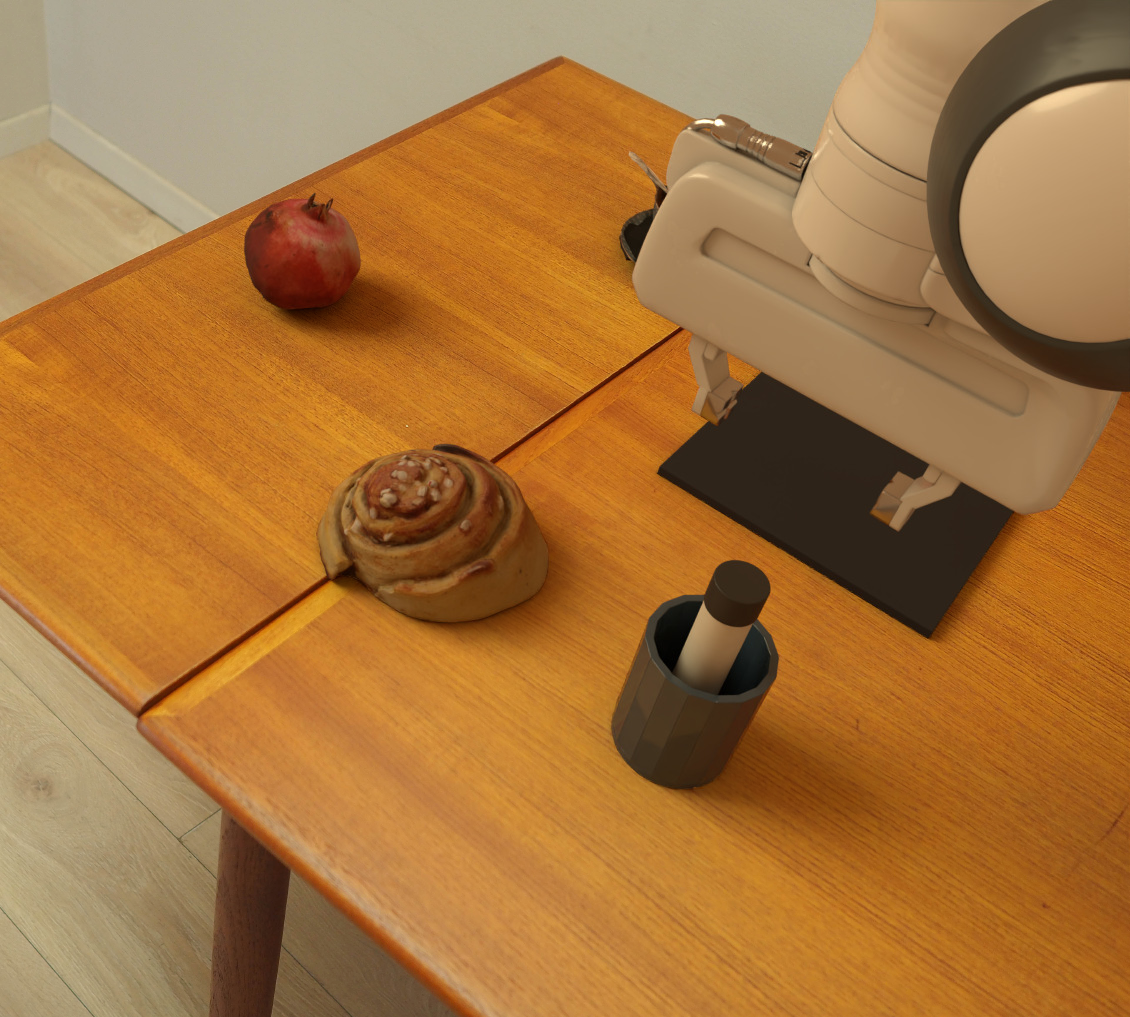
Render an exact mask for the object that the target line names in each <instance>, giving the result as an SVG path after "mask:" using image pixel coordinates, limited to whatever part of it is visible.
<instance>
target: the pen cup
mask: <svg viewBox="0 0 1130 1017" xmlns="http://www.w3.org/2000/svg"><path fill="white" fill-rule="evenodd" d="M703 601H704V594H681V595H679V596H677V597H674V598H672V599H671V598H670V599H669V600H666V601H664V602H662V603H661V604H660V605H659V606H658V607H657V608H656V609H655V610H654V611H653V613H652V614H651V615H649V617H648V620H647V622H646V625H645V628H644V630H643V632H642V635H641V638H640V640H639V643H638V645H637V648H636V651H635V653H634V656H633V659H632V661H631V664H630V666H629V668H628V672H627V674H626V677H625V679H624V682H623V684H622V687H621V689H620V692H619V695H618V697H617V699H616V703H615V706H614V709H613V713H612V715H611V723H610V724H611V736H612V740H613V743H614V745H615V747H616V750H617V751H618V753H619V755H620V756H621V758H622V759H623V760H624V762H625V763H626V764H627V765H628V766H629V767H630V768H631V769H632V770H633V771H634V772H635V773H637V774H638V775H640V776H641V777H642V778H644V779H645V780H647V781H650V782H652V783H654V784H657V785H659V786H662V787H666V788H670V789H675V790H676V789H677V790H688V789H696V788H701V787H703V786H706V785H708V784H710V783H712V782H713V781H715V780H716V779H718V778H719V777H720V776H721V775H722V774H723V772H725V770H726V768H727V766H728V765H729V763H730V762H731V761H732V760H733V758H734V756H735V754H736V752H737V750H738V749H739V748H740V747H739V746H740V745H741V743H742V742H743V740H744V738H745V736H746V735H747V733H748V731H749V729H750V727H751V726H752V723H753V721H754V720H755V718H756V716H757V714H758V713H759V711H760V709H761V707H762V705H763V703H764V702H765V699H766V698H767V697H768V694H769V692H770V691H771V689H772V686H773V685H774V683H775V681H776V679H777V677H778V670H779V661H780V656H779V653H778V650H777V646H776V643H775V642H774V639H773V636H772V634H771V633H770V632H769V631H768V630H767V628H766V627H765V626H764V625H763V623H761V621H760V620H759V618H757V620H756V621H755V622H754V623H753V624H752V626H751V628H750V630H749V632H748V634H747V636H746V638H745V641H744V643H743V645H742V647H741V649H740V651H739V653H738V655H737V657H736V659H735V661H734V663H733V665H732V667H731V669H730V671H729V673H728V675H727V677H726V679H725V681H724V683H723V685H722V687H721V689H720V691H719V693H718V695H713V694H710V693H707V692H703V691H700V690H697V689H694V688H692V687H690V686H689V685H687V684H686V683H684V682H683V681H681V680H680V679H678V678H677V677H676V676H674V675H673V674H672V673H673V670H674V668H675V666H676V663H677V661H678V659H679V656H680V654H681V652H682V650H683V647H684V645H685V643H686V640H687V638H688V636H689V633H690V631H691V629H692V627H693V624H694V622H695V620H696V617H697V615H698V613H699V610H700V608H701V606H702V604H703Z"/></svg>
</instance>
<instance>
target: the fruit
mask: <svg viewBox="0 0 1130 1017" xmlns="http://www.w3.org/2000/svg"><path fill="white" fill-rule="evenodd" d="M316 195H317V193H316V192H313V193H312V194H311V195H310V197H309V198H287V199H284V200H281V201H278V202H274V203H273V204H270V205H269V206H267V207H265V208H264V209H263V210H262V211H260V213H259V214H257V216H256V217H255V218H254V219H253V220H252V221H251V223H250V225H249V226H248V227H247V230H246V231H245V234H244V243H243V247H244V248H243V254H244V259H245V260H244V261H245V265H246V266H245V267H246V268H247V272H248V275H249V278H250V281H251V283H252V285H253V287H254V288H255V290H256V291H258V293H259V294H260V295H261V297H262V299H264V300H265V301H266V302H268V303H269V304H272V305H274V306H275V307H276V308H279V309H283V310H296V309H297V310H298V309H308V308H316V309H319V308H325V307H329V306H331V305H333V304H335V303H337V302H338V301H340V300H341V299H342V298H344V296H345V295H346V294H347V293H348V291H349V290H350V288H351V286H352V285H353V283H354V280H355V279H356V277H357V275H358V273H359V272H360V270H361V267H362V266H361V265H362V259H361V251H360V248H359V243H358V240H357V237H356V235H355V232H354V230H353V228H352V226H351V224H350V222H349V220H348V219H347V218H346V216H344V215H343V214H342V213H341V212H340V211H338V210H336V209H335V208H333V207H332V205H333V203H334V198H333V197H332V198H330V199H329V200H328V201H327V202H326V204H325V203H323V202H318V201H316V200H315V198H316V197H317V196H316Z"/></svg>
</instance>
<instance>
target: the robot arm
mask: <svg viewBox="0 0 1130 1017" xmlns="http://www.w3.org/2000/svg"><path fill="white" fill-rule="evenodd" d="M707 129H708V130H707ZM709 130H710V131H709ZM667 164H668V165H667V168H666V174H665V181H666V185H667V187H668V191H669V192H668V194H667V196H666V197H665V199H664V201H663V203H662V204H661V206H660V208H659V210H658V212H657V214H656V216H655V218H654V220H653V222H652V225H651V227H650V229H649V231H648V233H647V236H646V238H645V240H644V243H643V246H642V248H641V251H640V253H639V256H638V259H637V262H636V264H635V265H634V268H633V271H632V276H631V281H632V285H633V288H634V291H635V294H636V297H637V300H638V302H639V303H640V304H641V306H642V307H644V308H646V309H647V310H648V311H651V312H652V313H655V314H656V315H658V316H660V317H661V318H663V319H665V320H667V321H669V322H670V323H672V324H674V325H676V326H678V327H680V328H682V329H684V330H685V331H687V332H689V333H691V334H692V335H691V338H690V341H689V343H688V347H687V349H688V353H689V358H690V361H691V366H692V369H693V370H692V371H693V373H694V377H695V381H696V385H697V386H698V390H697V392H696V396H695V398H694V401H693V403H692V406H691V412H692V413H693V414H696V415H697V416H699V417H701V418H702V419H704V420H706V421H707V422H708V421H709V422H711V423H713V424H715V425H716V426H719V425H720V424H721V423H722V422H723V419H727V418H728V417H729V416H730V414H731V413H732V412H733V410H734V408H735V406H736V404H737V400H736V398H738V397H739V396H740V394H741V391H742V389H743V388H744V387H745V384H743V383H742V382H740V381H739V380H737V379H735V378H734V377H732V376H731V373H730V372H731V371H730V367H729V360H728V355H731V356H732V357H734V358H736V359H738V360H740V361H742V362H743V363H745V364H747V365H748V366H750V367H752V368H753V369H756V370H758V371H760V373H761V372H763V373H765V374H767V375H769V376H771V377H772V378H774V379H776V380H778V381H780V382H781V383H783V384H785V385H787V386H789V387H790V388H792V389H794V390H796V391H798V392H799V393H801V394H803V395H805V396H807V397H808V398H810V399H812V400H814V401H816V402H818V403H819V404H821V405H823V406H825V407H827V408H828V409H830V410H832V411H834V412H836V413H838V414H839V415H841V416H843V417H845V418H847V419H848V420H850V421H852V422H854V423H856V424H858V425H859V426H861V427H863V428H865V429H867V430H868V431H870V432H872V433H874V434H876V435H877V436H879V437H881V438H883V439H885V440H887V441H888V442H890V443H892V444H894V445H896V446H897V447H899V448H901V449H903V450H905V451H906V452H908V453H910V454H912V455H914V456H916V457H917V458H919V459H921V460H923V461H925V462H926V463H928V464H929V466H928V468H927V470H926V471H925V473H924V475H923V476H922V477H919V478H917V479H915V480H914V479H912V478H910V477H908V476H906V475H904V474H903V473H901V472H899V471H898V472H897V474H896V475H895V476H894V477H893V478H892V480H891V482H890V483H888V484H887V486H886V487H885V488H884V489H883V491H882V492H881V494H880V496H879V498H878V499H877V503H876V504H875V506H874V507H873V508H872V510H871V512H870V515H872V516H874V517H875V518H877V519H878V520H880V521H882V522H883V523H885V524H887V525H888V526H890V527H892V528H893V529H895V530H897V531H900V529H901V528H902V527H903V526H904V524H905V523H906V522H907V520H908V519H909V518H910V516H911V515H912V513H913V512H914V511H915V509H917V508H920V507H922V506H925V505H928V504H930V503H933V502H936V501H938V500H941V499H943V498H946V497H949V496H951V495H952V494H953V493H954V491H955V490H956V489H957V487H958V486H959V485H960V483H961V482H963V483H964V484H966V485H968V486H970V487H972V488H973V489H975V490H977V491H979V492H981V493H982V494H984V495H986V496H988V497H990V498H991V499H993V500H995V501H997V502H999V503H1000V504H1002V505H1004V506H1006V507H1007V508H1009V509H1011V510H1013V511H1014V512H1015V513H1017V514H1020V515H1025V516H1027V515H1028V516H1029V515H1034V514H1038V513H1042V512H1043V513H1044V512H1048V511H1051V510H1053V509H1055V508H1057V506H1058V505H1059V503H1061V500H1062V499H1063V497H1064V496H1065V495H1066V493H1067V492H1068V490H1069V488H1070V487H1071V486H1072V484H1073V483H1074V481H1075V480H1076V478H1077V477H1078V474H1079V473H1080V472H1081V470H1082V468H1083V467H1084V465H1085V463H1086V461H1087V460H1088V458H1089V456H1090V455H1091V453H1092V451H1093V449H1094V448H1095V446H1096V444H1097V443H1098V441H1099V440H1100V438H1101V436H1102V434H1103V432H1104V430H1105V428H1106V427H1107V425H1108V423H1109V420H1110V419H1111V417H1112V415H1113V413H1114V411H1115V409H1116V406H1117V405H1118V402H1119V400H1120V398H1121V395H1122V393H1130V0H875V12H874V19H873V22H872V26H871V30H870V34H869V36H868V39H867V41H866V44H865V45H864V48H863V49H862V52H861V53H860V55H859V56H858V58H857V59H856V61H855V62H854V64H853V65H852V66H851V67H850V69H849V70H848V71H847V73H846V74H845V75H844V77H843V78H842V80H841V82H840V84H839V86H838V87H837V89H836V92H835V94H834V97H833V99H832V102H831V105H830V106H829V109H828V112H827V115H826V118H825V120H824V123H823V125H822V127H821V130H820V133H819V136H818V138H817V141H816V143H815V146H814V149H813V152H812V151H810V150H808V149H806V148H804V147H802V146H799V145H797V144H795V143H792V142H790V141H788V140H787V139H784V138H781V137H777V136H775V135H770V134H768V133H765V132H763V131H760V130H757V129H756V128H753V127H752V126H751V124H750V123H748V122H747V121H744V120H743V119H741V118H739V117H735V116H733V115H729V114H724V113H721V114H718V115H717V116H716V117H715V118H708V117H704V118H698V119H695V120H693V121H691V122H689V123H688V124H686V125H685V126H683V128H682V129H681V130H680V132H679V133H678V135H677V136H676V139H675V141H674V143H673V147H672V150H671V154H670V157H669V161H668V163H667Z"/></svg>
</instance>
